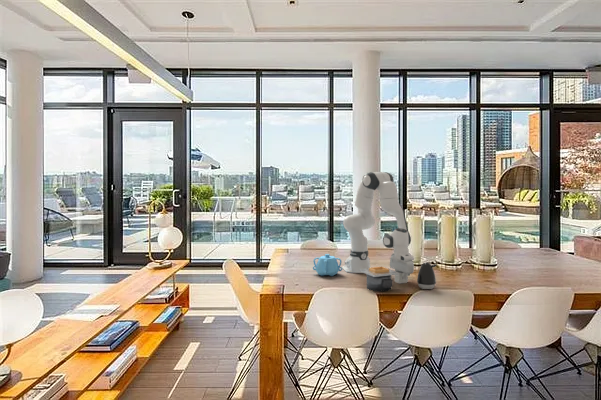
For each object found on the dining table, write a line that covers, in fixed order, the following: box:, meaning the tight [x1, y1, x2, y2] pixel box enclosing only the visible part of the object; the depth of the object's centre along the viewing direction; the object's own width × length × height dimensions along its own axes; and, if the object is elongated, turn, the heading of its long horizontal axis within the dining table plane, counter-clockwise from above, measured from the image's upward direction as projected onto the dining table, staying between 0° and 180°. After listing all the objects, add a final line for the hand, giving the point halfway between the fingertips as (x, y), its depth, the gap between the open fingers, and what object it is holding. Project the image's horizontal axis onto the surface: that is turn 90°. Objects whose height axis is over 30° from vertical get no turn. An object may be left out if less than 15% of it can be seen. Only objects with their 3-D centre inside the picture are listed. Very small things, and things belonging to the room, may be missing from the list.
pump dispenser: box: [416, 261, 437, 290], centre depth 243 cm, size 10×10×15 cm
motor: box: [360, 268, 399, 292], centre depth 244 cm, size 18×16×10 cm
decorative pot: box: [312, 253, 343, 277], centre depth 282 cm, size 16×16×14 cm
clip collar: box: [369, 266, 390, 273], centre depth 245 cm, size 8×9×2 cm
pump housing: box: [394, 271, 411, 284], centre depth 260 cm, size 5×9×7 cm, turn 111°
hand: (401, 278), depth 259 cm, fingers closed on pump housing, 5 cm apart
